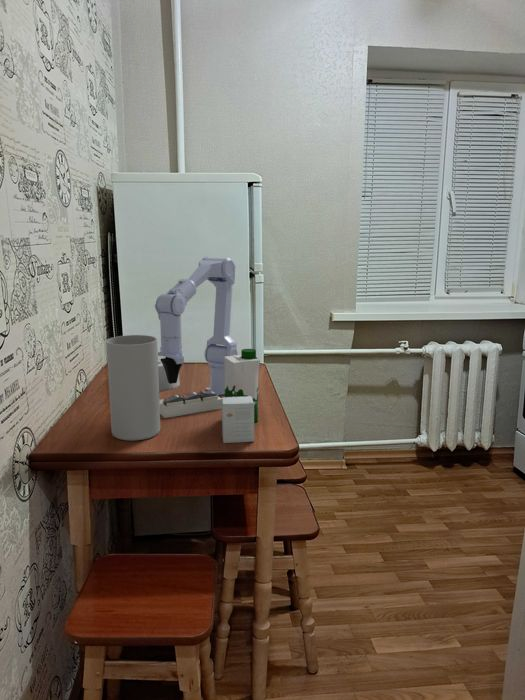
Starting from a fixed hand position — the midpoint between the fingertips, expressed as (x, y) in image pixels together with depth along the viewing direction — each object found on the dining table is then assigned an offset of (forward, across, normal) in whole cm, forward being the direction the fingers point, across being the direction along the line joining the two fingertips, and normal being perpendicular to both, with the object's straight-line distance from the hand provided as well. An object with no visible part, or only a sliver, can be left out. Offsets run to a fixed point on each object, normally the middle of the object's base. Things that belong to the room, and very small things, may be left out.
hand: (172, 382), depth 149 cm
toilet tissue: (+10, -27, +5) cm, 30 cm away
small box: (+10, +25, +8) cm, 28 cm away
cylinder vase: (+10, +9, -14) cm, 19 cm away
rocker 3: (+5, 0, +11) cm, 12 cm away
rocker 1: (+5, 0, 0) cm, 5 cm away
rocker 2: (+5, 0, +6) cm, 8 cm away
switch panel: (+9, -2, +8) cm, 12 cm away
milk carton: (+10, +13, +16) cm, 23 cm away
